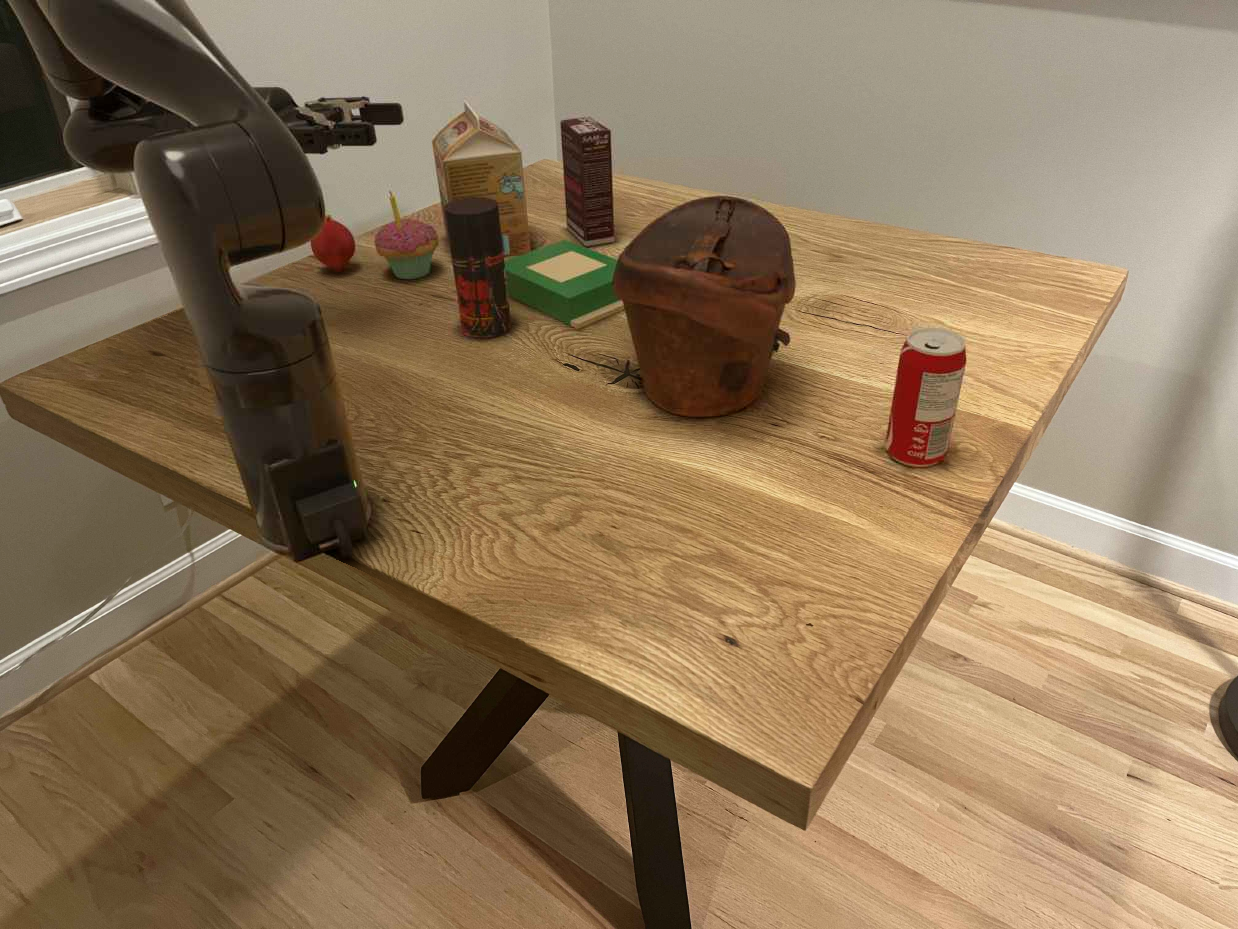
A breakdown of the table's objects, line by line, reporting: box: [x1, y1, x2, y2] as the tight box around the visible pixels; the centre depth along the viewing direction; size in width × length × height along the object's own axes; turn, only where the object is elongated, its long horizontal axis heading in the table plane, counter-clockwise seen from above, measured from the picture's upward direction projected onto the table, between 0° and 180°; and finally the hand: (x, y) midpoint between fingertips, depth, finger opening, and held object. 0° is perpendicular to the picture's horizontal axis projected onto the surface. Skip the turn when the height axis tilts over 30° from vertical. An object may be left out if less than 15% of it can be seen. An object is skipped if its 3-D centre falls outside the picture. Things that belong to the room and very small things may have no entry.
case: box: [612, 195, 797, 418], centre depth 90 cm, size 18×20×18 cm
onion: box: [310, 213, 356, 272], centre depth 123 cm, size 6×6×8 cm
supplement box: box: [559, 116, 615, 247], centre depth 129 cm, size 9×5×16 cm, turn 22°
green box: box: [504, 239, 625, 330], centre depth 116 cm, size 18×12×4 cm
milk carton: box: [431, 100, 532, 257], centre depth 126 cm, size 11×10×19 cm
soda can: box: [884, 326, 967, 468], centre depth 81 cm, size 6×6×12 cm
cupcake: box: [374, 190, 440, 280], centre depth 121 cm, size 9×8×12 cm
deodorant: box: [444, 197, 512, 340], centre depth 105 cm, size 6×6×15 cm
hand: (388, 123), depth 96 cm, fingers open, 8 cm apart
